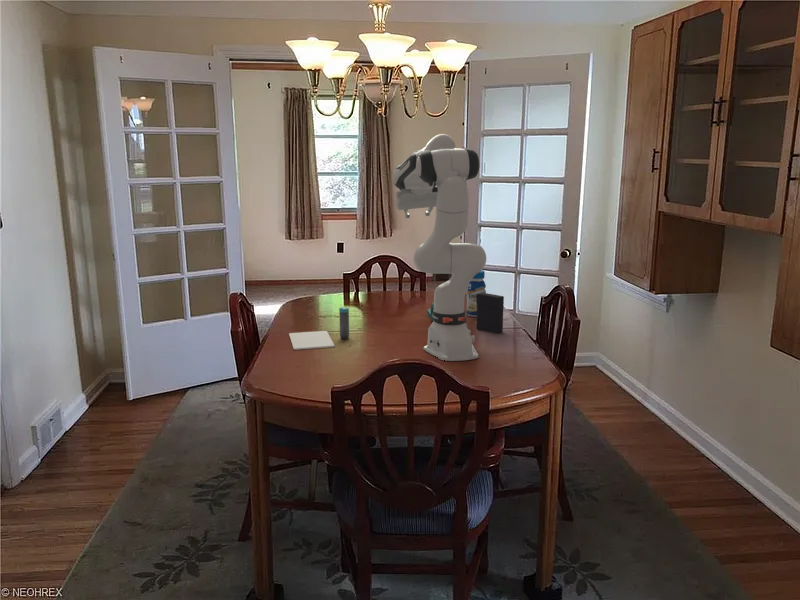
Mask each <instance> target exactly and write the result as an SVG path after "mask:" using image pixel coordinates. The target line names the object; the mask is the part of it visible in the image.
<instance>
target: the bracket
mask: <svg viewBox="0 0 800 600" xmlns="http://www.w3.org/2000/svg"><path fill="white" fill-rule="evenodd" d="M433 310H434V302H432V303H431V304H430V308H428V309H427V310H426V312H427V314H428V315H427V316H428V317H430V318H431V319H430V318H429V319H430V320H431V322H432V321H433V320H432V314H433Z"/></svg>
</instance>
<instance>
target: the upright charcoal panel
mask: <svg viewBox="0 0 800 600" xmlns="http://www.w3.org/2000/svg"><path fill="white" fill-rule="evenodd" d="M504 300H505V297H504V296H503V295H497V294H492V293H488V292H486V293H478V294H477V296H476V303H477V317H476V327H475V328H476V330H479V331H483V330H484V331H483V332H489V333H493V334H496V335H497V334H501V333H503V329H504V327H503V326H504Z"/></svg>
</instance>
